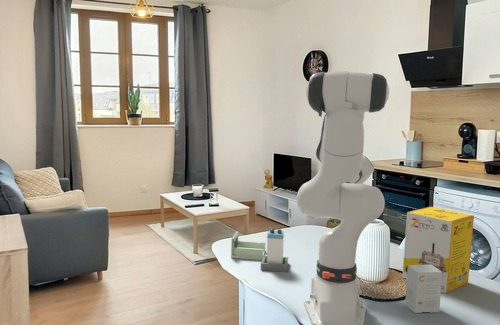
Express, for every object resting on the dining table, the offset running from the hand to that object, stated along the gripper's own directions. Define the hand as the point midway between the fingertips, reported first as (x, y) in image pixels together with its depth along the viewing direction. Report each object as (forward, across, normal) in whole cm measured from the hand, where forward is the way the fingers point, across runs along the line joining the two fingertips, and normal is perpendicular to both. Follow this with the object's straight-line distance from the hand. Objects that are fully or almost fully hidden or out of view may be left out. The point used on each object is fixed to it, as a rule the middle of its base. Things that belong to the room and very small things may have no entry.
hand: (309, 214), depth 155 cm
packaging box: (-18, +4, +48) cm, 51 cm away
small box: (-10, +27, +40) cm, 49 cm away
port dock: (+33, -11, -2) cm, 35 cm away
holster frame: (+24, +1, +6) cm, 25 cm away
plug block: (+24, +1, +6) cm, 25 cm away
